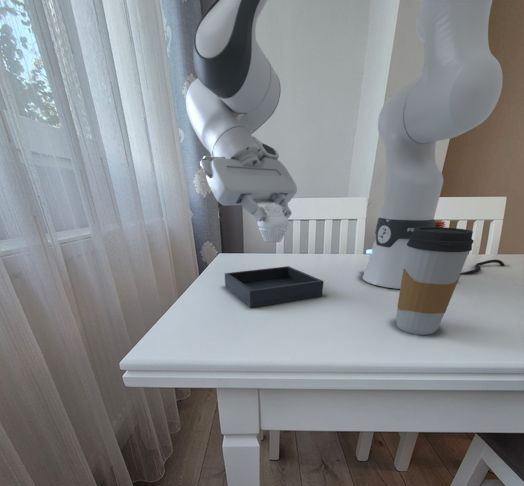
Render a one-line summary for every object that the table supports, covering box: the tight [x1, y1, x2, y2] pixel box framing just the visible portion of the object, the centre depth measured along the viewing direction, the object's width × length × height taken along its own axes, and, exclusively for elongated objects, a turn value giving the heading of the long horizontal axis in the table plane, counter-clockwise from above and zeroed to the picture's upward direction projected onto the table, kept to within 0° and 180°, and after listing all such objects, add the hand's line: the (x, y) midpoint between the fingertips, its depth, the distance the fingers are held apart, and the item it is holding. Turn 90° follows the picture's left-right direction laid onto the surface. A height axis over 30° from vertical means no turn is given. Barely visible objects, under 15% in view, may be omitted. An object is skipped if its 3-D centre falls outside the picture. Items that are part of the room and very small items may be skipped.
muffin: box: [256, 203, 290, 244], centre depth 57 cm, size 6×6×7 cm
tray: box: [224, 265, 324, 308], centre depth 64 cm, size 17×15×3 cm
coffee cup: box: [395, 226, 475, 336], centre depth 45 cm, size 8×8×15 cm
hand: (275, 217), depth 56 cm, fingers closed on muffin, 6 cm apart
